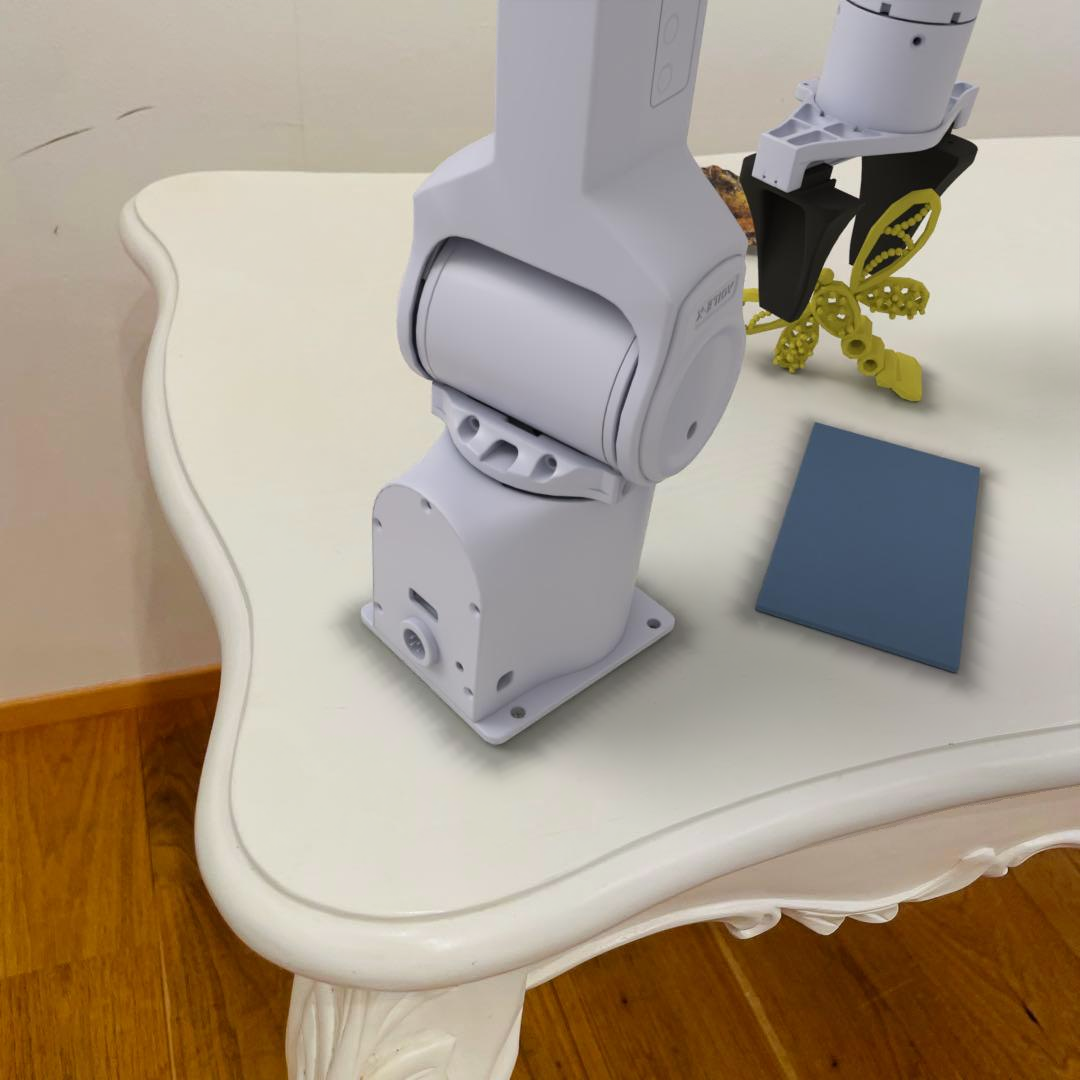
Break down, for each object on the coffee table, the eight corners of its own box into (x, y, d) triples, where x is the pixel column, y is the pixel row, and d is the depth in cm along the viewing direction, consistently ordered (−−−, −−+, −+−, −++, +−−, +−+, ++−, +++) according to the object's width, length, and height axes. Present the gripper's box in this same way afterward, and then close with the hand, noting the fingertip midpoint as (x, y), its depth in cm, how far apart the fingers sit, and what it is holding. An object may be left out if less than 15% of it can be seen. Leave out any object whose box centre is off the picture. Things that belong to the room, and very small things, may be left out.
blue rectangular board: (956, 673, 42) (959, 668, 42) (754, 609, 44) (756, 604, 44) (978, 472, 53) (980, 467, 52) (813, 426, 54) (815, 421, 54)
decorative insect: (781, 459, 61) (686, 314, 56) (785, 426, 63) (695, 286, 59) (1020, 363, 54) (932, 190, 50) (1015, 330, 56) (931, 163, 52)
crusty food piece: (643, 243, 67) (652, 195, 65) (678, 167, 76) (686, 123, 74) (784, 272, 66) (797, 225, 64) (801, 192, 75) (813, 148, 73)
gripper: (921, -41, 53) (843, 224, 62) (726, -1, 45) (670, 297, 54) (1056, 1, 49) (952, 276, 58) (871, 53, 41) (784, 363, 50)
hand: (824, 290), depth 56 cm, fingers open, 7 cm apart
